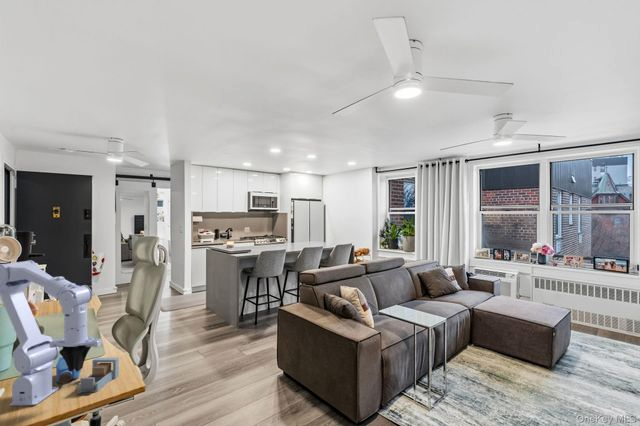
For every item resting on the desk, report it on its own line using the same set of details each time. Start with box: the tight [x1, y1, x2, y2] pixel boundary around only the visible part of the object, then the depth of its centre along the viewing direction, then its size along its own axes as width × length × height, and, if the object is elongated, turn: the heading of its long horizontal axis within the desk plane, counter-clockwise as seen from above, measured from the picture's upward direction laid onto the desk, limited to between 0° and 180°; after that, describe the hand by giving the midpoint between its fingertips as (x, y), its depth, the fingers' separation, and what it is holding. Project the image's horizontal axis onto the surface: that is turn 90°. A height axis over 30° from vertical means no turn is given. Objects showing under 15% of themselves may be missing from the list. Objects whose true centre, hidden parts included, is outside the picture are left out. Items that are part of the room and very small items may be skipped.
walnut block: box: [91, 362, 112, 377], centre depth 111 cm, size 4×4×4 cm
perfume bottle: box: [55, 356, 82, 384], centre depth 112 cm, size 6×6×12 cm
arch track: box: [77, 357, 121, 396], centre depth 110 cm, size 16×8×7 cm, turn 2°
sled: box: [80, 369, 113, 391], centre depth 109 cm, size 10×4×4 cm, turn 2°
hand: (75, 369), depth 99 cm, fingers closed
